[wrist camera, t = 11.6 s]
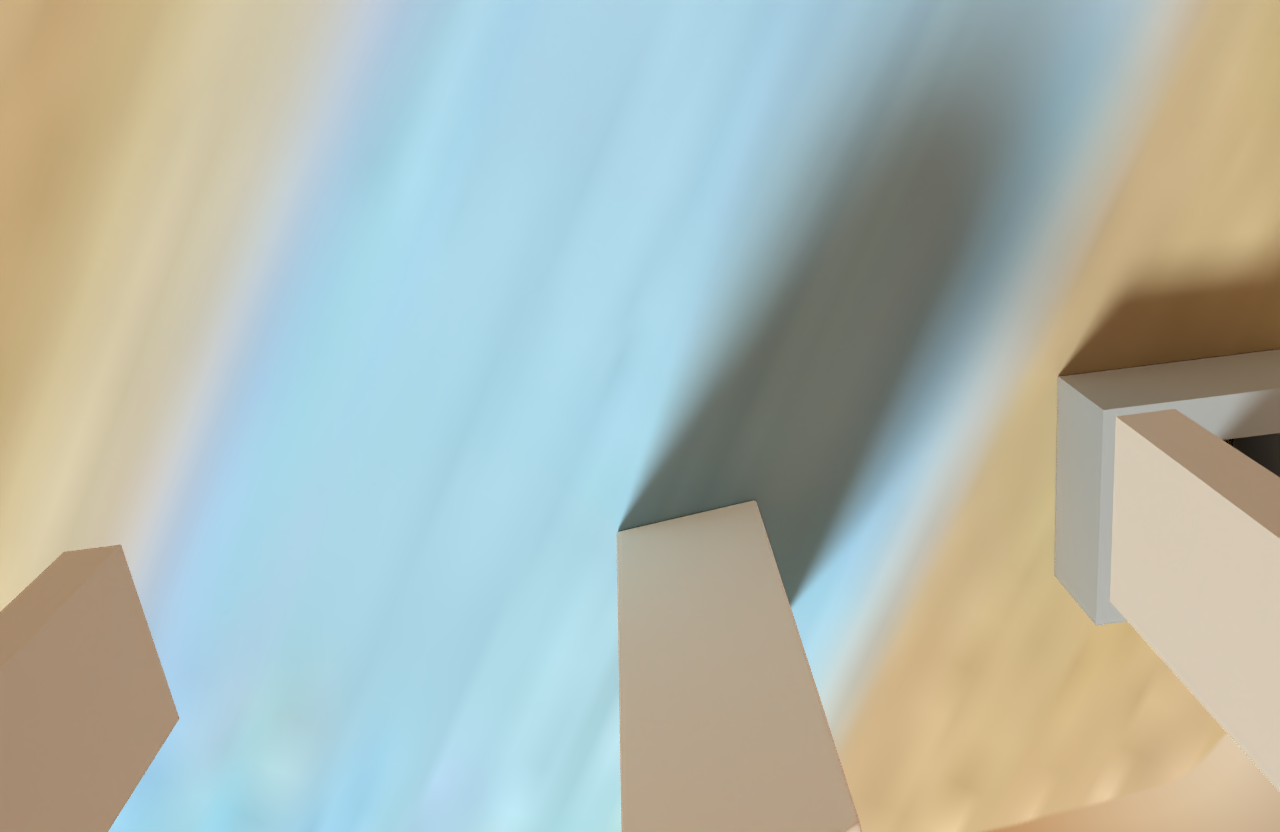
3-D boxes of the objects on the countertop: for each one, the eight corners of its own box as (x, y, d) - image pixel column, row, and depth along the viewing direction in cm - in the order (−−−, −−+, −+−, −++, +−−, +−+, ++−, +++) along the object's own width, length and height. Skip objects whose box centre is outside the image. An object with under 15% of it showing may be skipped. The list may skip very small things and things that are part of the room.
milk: (755, 497, 43) (901, 921, 22) (783, 622, 45) (941, 1118, 24) (612, 531, 43) (622, 981, 22) (646, 653, 45) (685, 1170, 24)
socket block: (1058, 376, 41) (1103, 410, 38) (1284, 348, 41) (1352, 379, 37) (1054, 575, 44) (1095, 625, 41) (1265, 550, 44) (1326, 597, 40)
